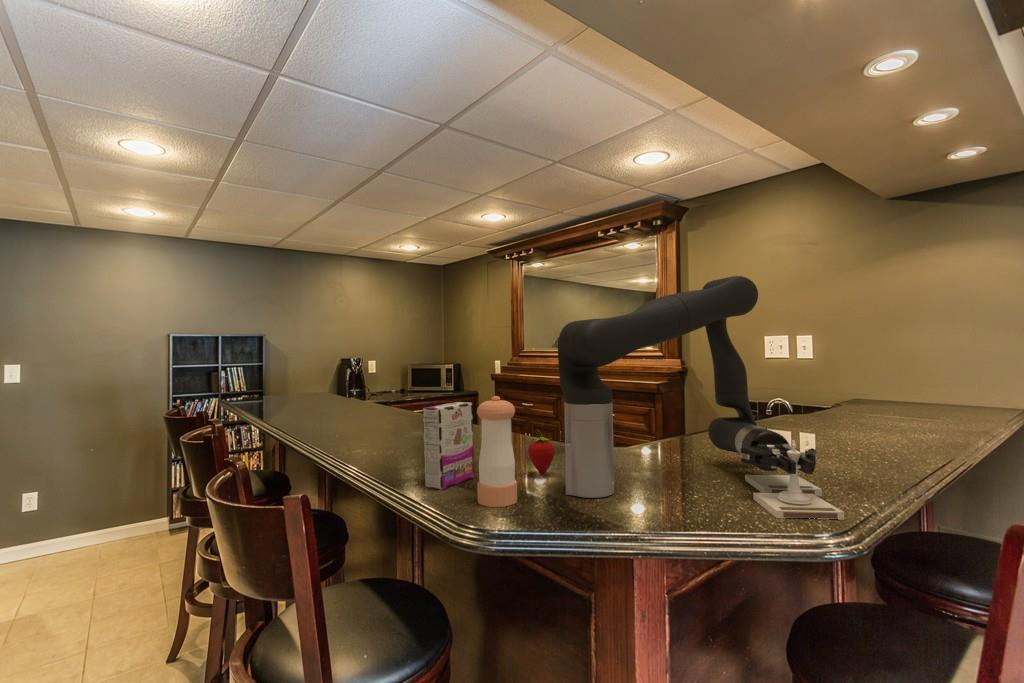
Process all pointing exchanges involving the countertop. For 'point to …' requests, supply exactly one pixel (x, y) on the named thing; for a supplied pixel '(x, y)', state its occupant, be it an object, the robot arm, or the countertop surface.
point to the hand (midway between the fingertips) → (802, 468)
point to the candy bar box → (448, 444)
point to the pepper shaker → (496, 455)
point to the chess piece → (794, 483)
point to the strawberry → (541, 453)
